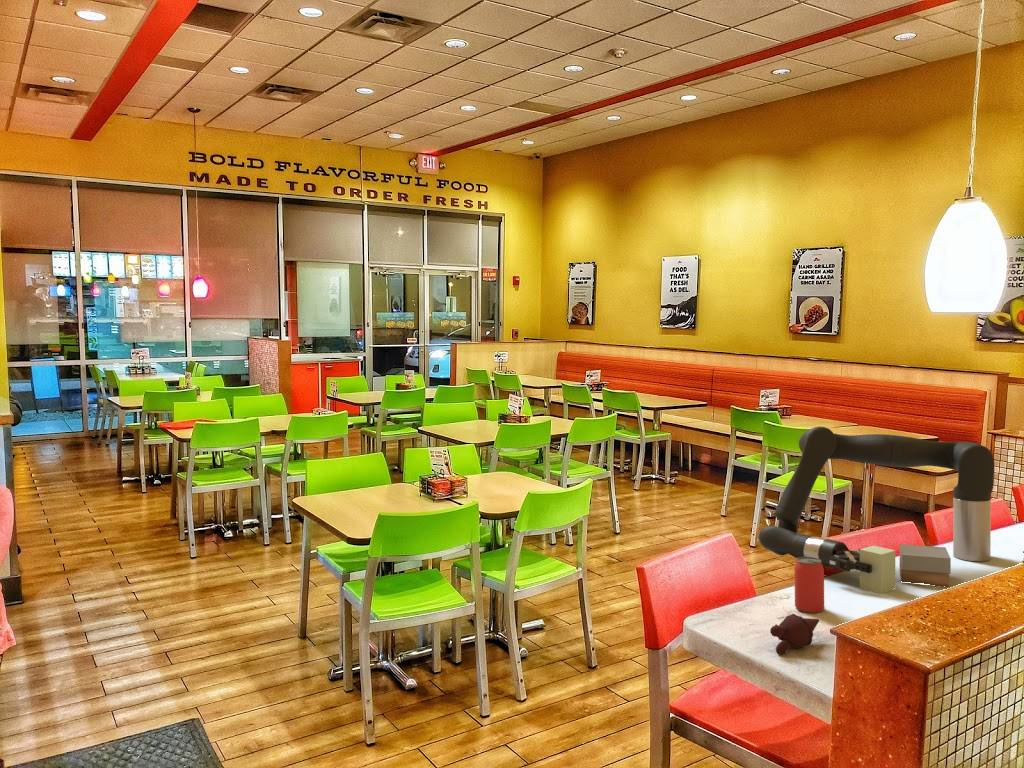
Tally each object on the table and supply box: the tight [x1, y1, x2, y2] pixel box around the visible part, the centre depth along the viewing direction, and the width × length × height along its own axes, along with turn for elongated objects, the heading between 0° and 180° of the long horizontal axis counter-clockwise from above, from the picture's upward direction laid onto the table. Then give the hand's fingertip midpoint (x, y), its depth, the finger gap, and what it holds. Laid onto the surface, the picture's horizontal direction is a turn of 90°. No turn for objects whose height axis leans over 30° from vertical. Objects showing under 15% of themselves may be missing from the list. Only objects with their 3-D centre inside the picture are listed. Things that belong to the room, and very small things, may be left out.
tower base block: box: [899, 561, 950, 588], centre depth 201 cm, size 11×11×4 cm
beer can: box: [793, 557, 825, 614], centre depth 182 cm, size 7×7×12 cm
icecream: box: [770, 613, 820, 655], centre depth 160 cm, size 7×7×15 cm
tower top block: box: [899, 543, 952, 575], centre depth 201 cm, size 11×11×4 cm
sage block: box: [859, 545, 897, 594], centre depth 195 cm, size 6×6×10 cm
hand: (881, 566), depth 194 cm, fingers open, 8 cm apart
